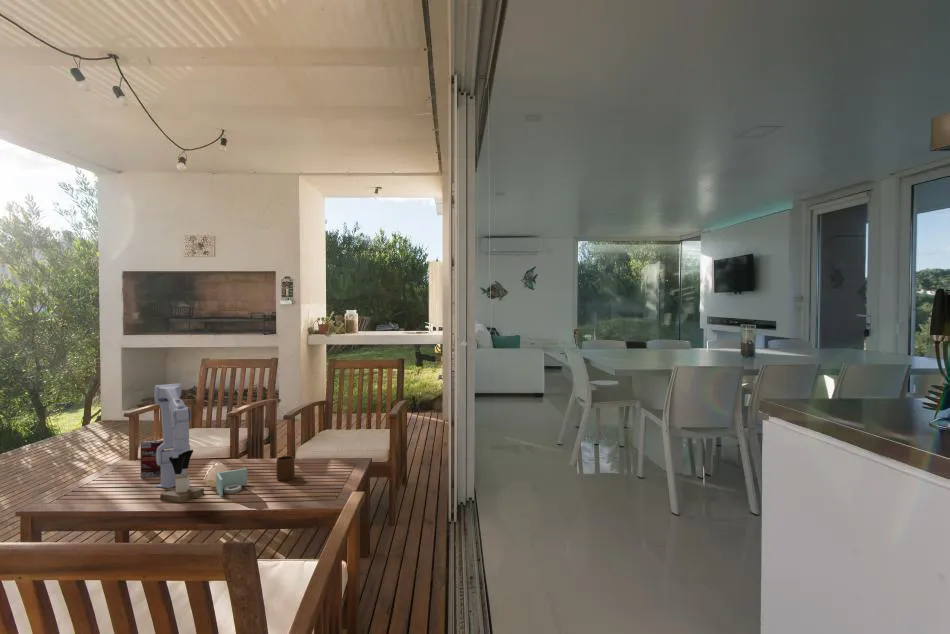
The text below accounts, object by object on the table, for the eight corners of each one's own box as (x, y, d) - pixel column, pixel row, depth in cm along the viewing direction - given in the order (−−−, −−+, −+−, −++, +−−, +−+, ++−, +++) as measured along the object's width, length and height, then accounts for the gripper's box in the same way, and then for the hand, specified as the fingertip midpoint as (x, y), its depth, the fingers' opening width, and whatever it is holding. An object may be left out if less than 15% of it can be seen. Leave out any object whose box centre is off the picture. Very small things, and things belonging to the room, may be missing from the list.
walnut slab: (184, 492, 221) (183, 485, 221) (203, 495, 217) (203, 488, 217) (160, 501, 210) (160, 494, 210) (180, 504, 207) (180, 496, 207)
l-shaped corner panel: (220, 498, 213) (220, 479, 213) (216, 490, 223) (216, 472, 223) (252, 492, 220) (251, 474, 220) (246, 485, 230) (246, 468, 230)
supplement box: (140, 477, 241) (139, 443, 242) (144, 474, 246) (144, 441, 246) (160, 476, 243) (160, 442, 243) (164, 473, 248) (164, 439, 248)
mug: (282, 473, 244) (282, 453, 244) (299, 473, 245) (299, 453, 245) (274, 481, 232) (274, 460, 232) (291, 481, 233) (291, 459, 233)
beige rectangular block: (178, 489, 215) (178, 474, 215) (190, 488, 216) (189, 473, 216) (175, 493, 211) (174, 477, 211) (186, 492, 212) (186, 476, 212)
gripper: (176, 434, 220) (177, 467, 220) (163, 442, 206) (164, 477, 206) (195, 433, 222) (195, 465, 222) (183, 441, 207) (183, 475, 207)
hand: (181, 471), depth 214 cm, fingers open, 7 cm apart
